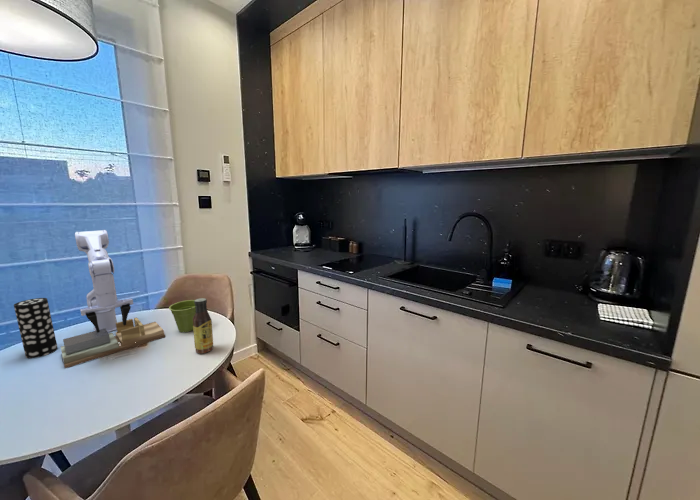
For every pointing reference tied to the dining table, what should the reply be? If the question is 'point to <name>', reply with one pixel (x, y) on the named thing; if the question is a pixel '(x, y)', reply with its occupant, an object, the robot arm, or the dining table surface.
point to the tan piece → (123, 335)
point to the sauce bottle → (202, 327)
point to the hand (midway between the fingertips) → (111, 327)
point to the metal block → (86, 341)
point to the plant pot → (184, 314)
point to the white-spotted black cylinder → (35, 327)
